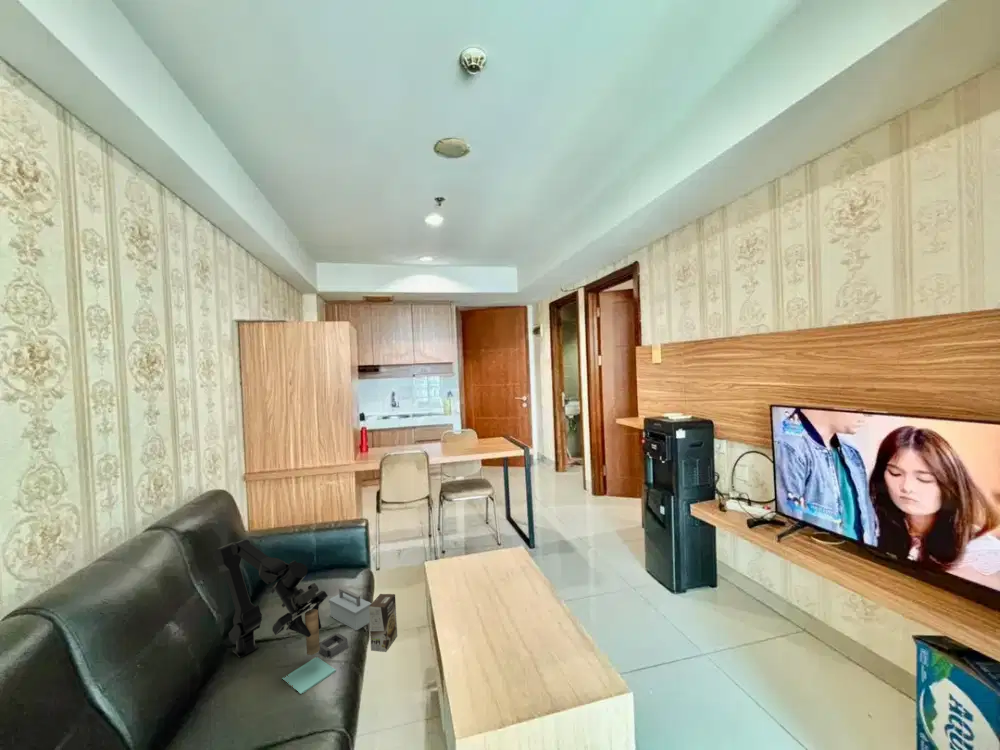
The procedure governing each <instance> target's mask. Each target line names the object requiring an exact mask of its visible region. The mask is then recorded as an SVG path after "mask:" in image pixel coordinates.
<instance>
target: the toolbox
mask: <svg viewBox="0 0 1000 750" xmlns="http://www.w3.org/2000/svg"><path fill="white" fill-rule="evenodd" d="M328 603H329V610H330V611H329V613H330V614H329V615H330V618H332V617H333V619H335V620H336V621H338V622H339V623H342V624H343V625H345V626H348V627H349V628H351V629H353V630H355V631H358V630H360V629H361V628H364V627H365V626H366V625H369V624H370V620H369V606H370V605H371V604H372V603H373V602H370V601H368V600H365V599H363V598H362V597H361V595H359V594H357V593H354V592H353V591H350V590H348V589H346V588H344V587H339V588H338V594H337V595H334V596H332V597H331V598H328Z"/></svg>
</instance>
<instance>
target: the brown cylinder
mask: <svg viewBox="0 0 1000 750" xmlns="http://www.w3.org/2000/svg"><path fill="white" fill-rule="evenodd" d="M318 612H319V609H318V610H317V609H312V610H309V611H305V612H304V622H305V623H304V624H305V626H306V627H307V629H308V630H309V632H310V634H311V636H310V637H307V636H305V641H306V642H305V643H306V654H307V655H308V656H313V655H315V654H318V653H319V650H320V629H319V624H318Z"/></svg>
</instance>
